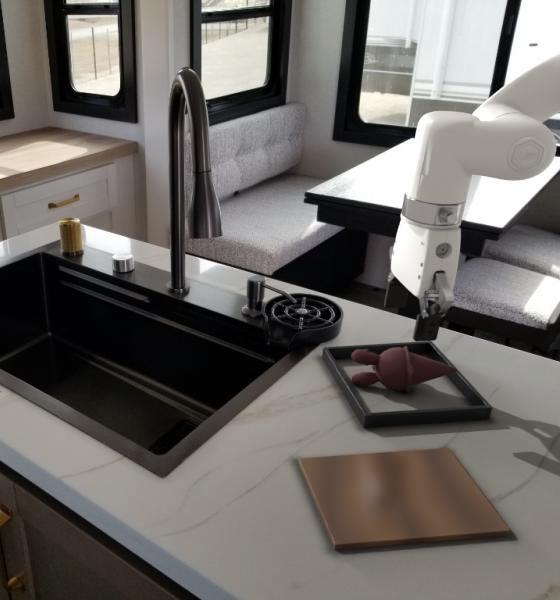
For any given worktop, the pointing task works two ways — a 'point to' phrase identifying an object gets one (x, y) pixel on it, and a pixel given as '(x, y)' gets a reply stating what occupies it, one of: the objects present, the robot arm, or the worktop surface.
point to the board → (398, 499)
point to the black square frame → (408, 417)
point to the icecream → (398, 368)
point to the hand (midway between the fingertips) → (408, 322)
